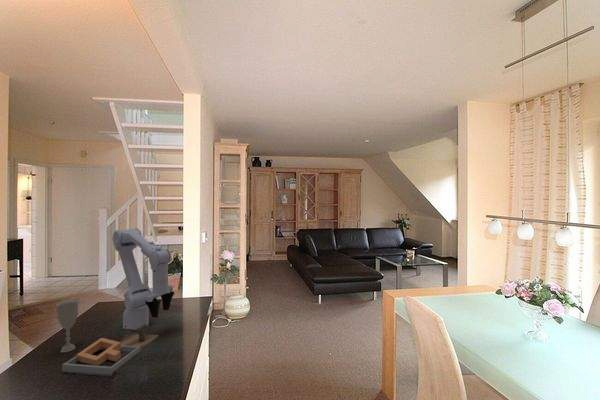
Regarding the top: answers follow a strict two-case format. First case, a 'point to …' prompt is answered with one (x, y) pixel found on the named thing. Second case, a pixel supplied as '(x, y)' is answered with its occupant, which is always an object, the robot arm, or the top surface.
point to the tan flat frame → (109, 353)
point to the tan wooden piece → (138, 338)
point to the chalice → (67, 319)
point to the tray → (100, 370)
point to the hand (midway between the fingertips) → (160, 313)
